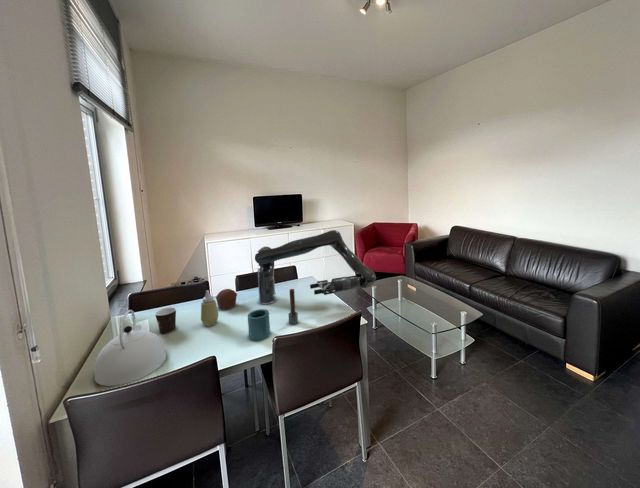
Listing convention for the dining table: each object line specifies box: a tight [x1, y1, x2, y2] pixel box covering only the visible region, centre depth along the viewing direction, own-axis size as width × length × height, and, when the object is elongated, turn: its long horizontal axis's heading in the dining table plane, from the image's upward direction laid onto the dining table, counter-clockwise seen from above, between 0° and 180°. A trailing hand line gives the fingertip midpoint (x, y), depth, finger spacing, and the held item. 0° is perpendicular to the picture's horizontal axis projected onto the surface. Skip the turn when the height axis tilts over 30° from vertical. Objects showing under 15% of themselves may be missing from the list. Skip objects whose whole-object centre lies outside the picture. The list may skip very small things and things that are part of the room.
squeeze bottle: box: [200, 289, 219, 327], centre depth 153 cm, size 8×8×18 cm
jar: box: [247, 308, 271, 342], centre depth 142 cm, size 9×9×11 cm
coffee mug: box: [154, 306, 177, 335], centre depth 147 cm, size 12×9×10 cm
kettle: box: [94, 309, 167, 387], centre depth 121 cm, size 25×23×22 cm
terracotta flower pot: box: [215, 288, 238, 311], centre depth 173 cm, size 12×11×10 cm
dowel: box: [288, 288, 299, 326], centre depth 153 cm, size 5×5×18 cm
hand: (312, 289), depth 157 cm, fingers open, 8 cm apart
